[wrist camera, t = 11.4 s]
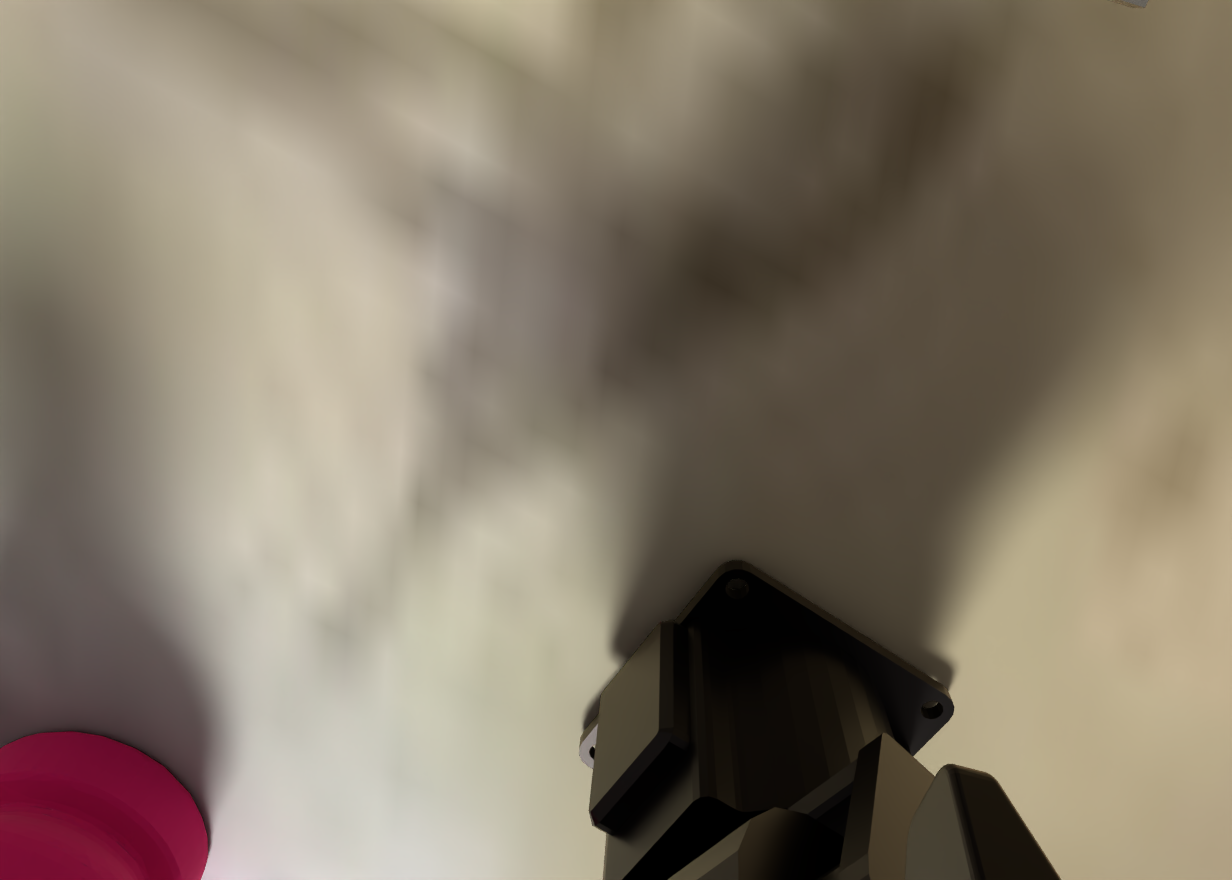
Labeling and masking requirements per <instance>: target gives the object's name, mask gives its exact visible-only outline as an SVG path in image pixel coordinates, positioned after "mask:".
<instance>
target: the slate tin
mask: <svg viewBox="0 0 1232 880" xmlns="http://www.w3.org/2000/svg"><path fill="white" fill-rule="evenodd" d="M1109 1H1112V2H1115V3H1119V4H1122V5H1125V6H1128V7H1132V8H1145V6H1146V4H1147V2H1148V0H1109Z"/></svg>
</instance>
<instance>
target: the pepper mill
mask: <svg viewBox="0 0 1232 880" xmlns="http://www.w3.org/2000/svg"><path fill="white" fill-rule="evenodd" d="M207 858H208V837H207V833H206V830H205V826H204V822H203V819H202V816H201V814H200V812H199V810H198V808H197V806H196V804H195V802H194V800H193V798H192V797H191V795H190V793H189V792H188V791H187V790H186V789H185V788H184V787H183V786H182V785H181V784H180V783H179V782H178V780H177V779H176V778H175V777H174V776H173V775H172V774H171V773H170V772H169V771H168V770H167V769H166V768H165V767H164V766H162V765H161V764H159V763H158V762H156V761H155V760H153V759H152V758H150V757H149V756H147V755H145V754H144V753H142V752H140V751H139V750H137V749H135V748H133V747H130V746H128V745H125V744H123V743H120V742H118V741H115V740H112V739H110V738H107V737H104V736H99V735H93V734H86V733H80V732H74V731H67V732H48V733H38V734H34V735H30V736H26V737H23V738H20V739H18V740H16V741H14V742H11V743H9V744H7V745H5V746H3V747H2V748H0V880H200V879H201V877H202V875H203V872H204V870H205V866H206V862H207Z"/></svg>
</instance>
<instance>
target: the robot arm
mask: <svg viewBox="0 0 1232 880" xmlns="http://www.w3.org/2000/svg"><path fill="white" fill-rule="evenodd" d="M733 579H741V580H744V581H745V582H746V583H747V584H746V586H744V587H743V588H741V589H737V590H734V589H731V588H729V587H728V586H727V583H728V582H730V581H731V580H733ZM928 701H937V702H938V703H937V705H935V706H934V707H932V708H923V707H922V706H923V704H925V703H926V702H928ZM953 712H954V705H953V702H952V699H951V697H950V695H949V692H948V690H947V689H946V688H945V687H944V686H943V685H942V684H940V683H939V682H937V681H935V680H934V679H932V678H931V677H929V676H928V675H926V674H924V673H923V672H921V671H920V670H918V669H916V668H915V667H913V666H912V665H910V664H908V663H907V662H905V661H904V660H902V659H900V658H899V657H897V656H896V655H894V654H893V653H891V652H889V651H888V650H886V649H885V648H883V647H881V646H880V645H878V644H877V643H875V642H873V641H872V640H870V639H869V638H867V637H866V636H864V635H862V634H861V633H859V632H858V631H856V630H854V629H853V628H851V627H850V626H848V625H846V624H845V623H843V622H842V621H840V620H838V619H837V618H835V617H834V616H832V615H831V614H829V613H827V612H826V611H824V610H823V609H821V608H819V607H818V606H816V605H815V604H813V603H811V602H810V601H808V600H807V599H805V598H803V597H802V596H800V595H799V594H797V593H796V592H794V591H792V590H791V589H789V588H788V587H786V586H784V585H783V584H781V583H780V582H778V581H776V580H775V579H773V578H772V577H770V576H769V575H767V574H765V573H764V572H762V571H761V570H759V569H757V568H756V567H754V566H753V565H751V564H749V563H747V562H744V561H742V560H732V561H729V562H726V563H724V564H723V565H721V566H720V567H719V568H718V569H717V570H716V571H715V573H714V574H713V575H712V576H711V577H710V579H709V580H708V581H707V582H706V583H705V585H704V586H703V587H702V588H701V590H700V591H699V592H698V593H697V594H696V596H695V597H694V598H693V599H692V601H691V602H690V603H689V604H688V605H687V607H686V608H685V609H684V610H683V611H682V613H681V614H680V615H679V616H678V618H677V619H676V620H675V621H674V620H672V619H671V620H668V621H664V622H661V623H659V624H658V625H657V626H656V627H655V629H654V630H653V631H652V632H651V633H650V635H649V636H648V637H647V638H646V640H645V641H644V642H643V643H642V644H641V646H640V647H639V648H638V649H637V651H636V652H635V653H634V654H633V655H632V657H631V658H630V659H629V660H628V662H627V663H626V664H625V665H624V667H623V668H622V669H621V670H620V671H619V673H618V674H617V675H616V676H615V678H614V679H613V680H612V681H611V682H610V684H609V685H608V686H607V687H606V689H605V690H604V691H603V692H602V694H601V699H600V708H599V714H598V715H597V716H596V717H595V718H594V720H593V721H592V722H591V723H590V725H589V726H588V727H587V728H586V729H585V731H584V732H583V734H582V736H581V738H580V746H579V756H580V758H581V760H582V761H583V762H584V763H585V764H586V765H587V766H589V767H590V768H592V769H593V775H592V785H591V794H590V804H589V814H590V818H591V822H592V826H594V827H596V828H598V829H599V830H601V831H603V832H605V833H606V846H605V858H604V871H603V880H1061V878H1060V877H1059V875H1058V874H1057V872H1056V871H1055V869H1054V868H1053V866H1052V865H1051V863H1050V861H1049V860H1048V858H1047V857H1046V855H1045V854H1044V852H1043V851H1042V849H1041V847H1040V846H1039V844H1038V843H1037V841H1036V840H1035V838H1034V837H1033V835H1032V834H1031V832H1030V830H1029V829H1028V827H1027V826H1026V824H1025V823H1024V821H1023V820H1022V818H1021V817H1020V815H1019V813H1018V812H1017V810H1016V809H1015V807H1014V806H1013V804H1012V803H1011V801H1010V800H1009V798H1008V796H1007V795H1006V793H1005V792H1004V790H1003V789H1002V787H1001V786H1000V784H999V783H998V781H997V780H996V779H995V778H994V777H993V776H992V775H990V774H988V773H986V772H983V771H979V770H975V769H971V768H967V767H963V766H959V765H955V764H947V765H944V766H943V767H942V768H941V769H940V770H939V771H938V773H937V774H936V776H934V775H933V774H932V773H930V772H929V771H928V770H927V769H926V768H925V767H924V766H923V765H922V764H920V763H919V762H918V761H917V760H916V759H915V758H914V757H913V756H914V755H915V754H916V753H917V752H918V751H919V750H920V749H921V748H922V747H923V746H924V745H925V744H926V743H927V742H928V741H929V740H930V739H931V738H932V737H933V736H934V735H935V734H936V733H937V732H938V731H939V730H940V729H941V728H942V727H943V726H944V725H945V724H946V723H947V722H948V721H949V720H950V718H951V717H952V715H953ZM594 745H596V746H595V748H594V747H593V746H594Z"/></svg>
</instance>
